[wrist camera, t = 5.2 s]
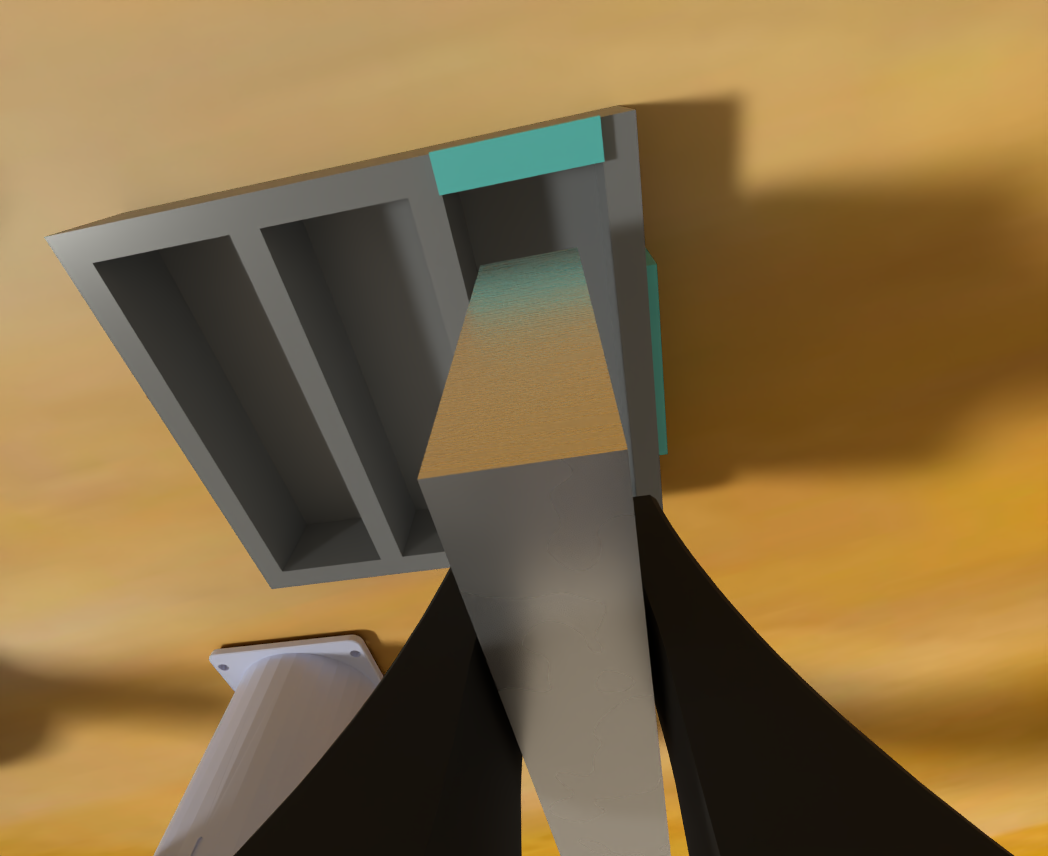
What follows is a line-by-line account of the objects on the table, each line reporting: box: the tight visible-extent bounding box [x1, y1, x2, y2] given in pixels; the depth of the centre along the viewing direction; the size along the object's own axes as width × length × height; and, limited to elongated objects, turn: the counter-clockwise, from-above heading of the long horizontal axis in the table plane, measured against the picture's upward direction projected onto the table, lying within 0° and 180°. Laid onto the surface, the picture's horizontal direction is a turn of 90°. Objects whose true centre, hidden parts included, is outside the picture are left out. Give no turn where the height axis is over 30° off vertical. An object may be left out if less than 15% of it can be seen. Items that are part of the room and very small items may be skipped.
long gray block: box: [417, 247, 671, 856], centre depth 11 cm, size 10×2×7 cm, turn 11°
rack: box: [44, 106, 668, 589], centre depth 17 cm, size 13×15×3 cm
